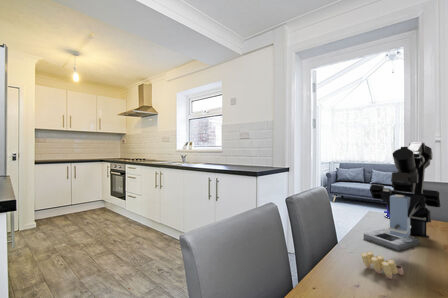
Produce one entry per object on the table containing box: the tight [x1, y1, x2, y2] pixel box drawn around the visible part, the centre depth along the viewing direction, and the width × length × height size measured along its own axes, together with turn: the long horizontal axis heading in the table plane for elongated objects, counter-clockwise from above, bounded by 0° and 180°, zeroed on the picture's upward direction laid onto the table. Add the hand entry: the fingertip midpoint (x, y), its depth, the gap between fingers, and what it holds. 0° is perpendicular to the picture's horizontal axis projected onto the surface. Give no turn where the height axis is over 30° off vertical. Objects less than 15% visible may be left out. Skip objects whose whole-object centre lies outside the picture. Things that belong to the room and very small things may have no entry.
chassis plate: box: [363, 228, 420, 252], centre depth 86 cm, size 14×12×2 cm
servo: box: [387, 195, 411, 238], centre depth 74 cm, size 10×4×13 cm, turn 132°
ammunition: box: [360, 250, 404, 280], centre depth 63 cm, size 5×7×8 cm
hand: (399, 215), depth 73 cm, fingers closed on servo, 4 cm apart
